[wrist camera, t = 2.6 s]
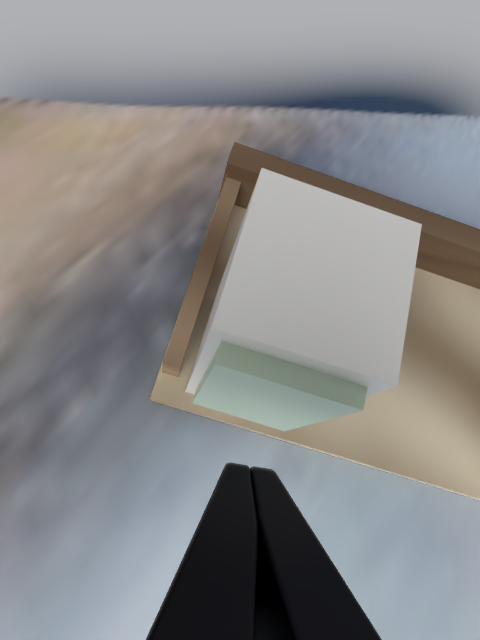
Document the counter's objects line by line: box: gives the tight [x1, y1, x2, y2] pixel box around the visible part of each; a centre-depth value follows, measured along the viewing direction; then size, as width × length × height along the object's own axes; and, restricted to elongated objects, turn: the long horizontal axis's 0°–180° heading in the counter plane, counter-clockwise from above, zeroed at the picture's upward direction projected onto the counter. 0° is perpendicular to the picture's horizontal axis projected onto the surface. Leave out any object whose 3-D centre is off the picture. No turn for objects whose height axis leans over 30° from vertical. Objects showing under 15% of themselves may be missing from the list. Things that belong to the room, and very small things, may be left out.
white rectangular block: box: [185, 168, 422, 431], centre depth 13 cm, size 4×4×8 cm
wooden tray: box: [150, 142, 480, 500], centre depth 17 cm, size 10×19×3 cm, turn 75°
